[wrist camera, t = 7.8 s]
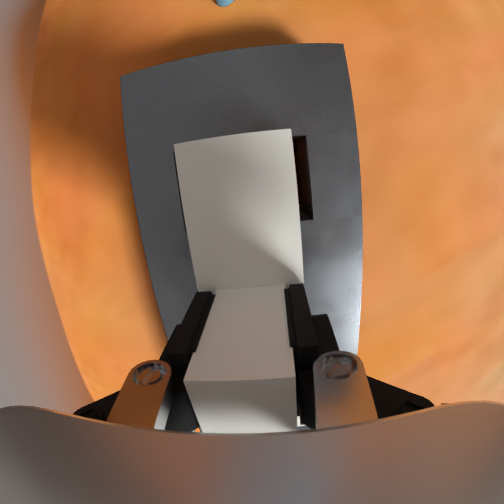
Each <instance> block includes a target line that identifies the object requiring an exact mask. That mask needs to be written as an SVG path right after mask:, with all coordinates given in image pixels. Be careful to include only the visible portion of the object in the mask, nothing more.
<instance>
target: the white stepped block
mask: <svg viewBox="0 0 504 504" xmlns="http://www.w3.org/2000/svg"><path fill="white" fill-rule="evenodd" d="M174 151H175V158H176V166H177V173H178V180H179V187H180V193H181V200H182V206H183V212H184V218H185V224H186V230H187V236H188V242H189V247H190V253H191V258H192V263H193V269H194V274H195V279H196V284H197V289H198V292H203V291H211V292H212V295H213V294H216V296H215V299H214V301H213V304H212V307H211V310H210V313H209V316H208V318H207V321H206V324H205V327H204V330H203V333H202V336H201V338H200V341H199V344H198V347H197V350H196V353H193V355H192V357H191V360H190V363H189V366H188V369H187V372H186V374H185V377H184V380H183V381H184V384H185V387H186V390H187V393H188V395H189V398H190V401H191V404H192V406H193V409H194V412H195V414H196V417H197V419H198V422H199V425H200V427H201V430H202V432H203V433H269V432H286V431H297V426H305V425H300V416H297V403H296V376H295V367H294V357H293V348H292V347H291V348H290V344H289V334H288V324H287V314H286V304H285V295H284V289H287V288H289V285H290V284H300V283H303V284H304V274H303V257H302V242H301V228H300V215H299V202H298V191H297V180H296V170H295V160H294V151H293V142H292V133H291V129H280V130H269V131H259V132H250V133H242V134H234V135H227V136H220V137H213V138H207V139H200V140H195V141H189V142H183V143H178V144H174Z"/></svg>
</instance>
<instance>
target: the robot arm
mask: <svg viewBox="0 0 504 504" xmlns="http://www.w3.org/2000/svg"><path fill="white" fill-rule="evenodd" d="M284 295H285V304H286V314H287V324H288V334H289V344H290V348H291V347H292V348H293V357H294V367H295V376H296V403H297V416H300V425H305V426H307V427H309V428H311V429H310V430H299V431H286V432H269V433H201V432H195V429H197V428H198V427H200V425H199V422H198V419H197V417H196V414H195V412H194V409H193V406H192V404H191V401H190V398H189V395H188V393H187V390H186V387H185V384H184V381H183V380H184V377H185V374H186V372H187V369H188V366H189V363H190V360H191V357H192V355H193V353H196V350H197V347H198V344H199V341H200V338H201V336H202V333H203V330H204V327H205V324H206V321H207V318H208V316H209V313H210V310H211V307H212V304H213V301H214V299H215V296H216V294H213V295H212V292H211V291H203V292H196V294H195V296H194V298H193V300H192V302H191V304H190V306H189V308H188V310H187V312H186V314H185V316H184V318H183V320H182V322H181V324H178V325H176V327H175V328H174V330H173V332H172V334H171V336H170V338H169V341H168V343H167V345H166V347H165V349H164V351H163V353H162V355H161V357H160V359H159V360H148V361H145V362H142V363H140V364H138V365H136V366H135V367H134V368H132V369H131V371H130V372H129V374H128V376H127V378H126V380H125V382H124V384H123V386H122V388H121V390H120V391H118V392H115V393H113V394H111V395H109V396H107V397H104V398H102V399H100V400H98V401H95V402H93V403H91V404H88V405H86V406H84V407H82V408H80V409H78V410H77V411H76V412H75V413H73V414H68V413H63V412H59V411H55V410H50V409H46V408H40V407H35V406H9V407H4V408H0V504H504V404H503V403H501V402H495V401H465V402H457V403H441V405H439V406H434V404H433V403H432V402H431V401H429V400H428V399H426V398H424V397H422V396H419V395H416V394H413V393H411V392H408V391H405V390H403V389H400V388H397V387H395V386H392V385H389V384H387V383H384V382H381V381H379V380H376V379H374V378H371V377H369V376H366V372H365V369H364V365H363V363H362V361H361V359H360V358H359V357H358V356H357V355H355V354H353V353H351V352H346V351H340V350H339V347H338V344H337V341H336V338H335V335H334V332H333V329H332V326H331V323H330V320H329V317H328V315H327V314H319V315H311V312H310V308H309V304H308V300H307V296H306V292H305V288H304V284H303V283H300V284H290V285H289V288H287V289H284Z"/></svg>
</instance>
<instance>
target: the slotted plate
mask: <svg viewBox="0 0 504 504" xmlns="http://www.w3.org/2000/svg"><path fill="white" fill-rule="evenodd" d="M120 82H121V98H122V110H123V121H124V131H125V140H126V148H127V156H128V163H129V170H130V177H131V184H132V190H133V196H134V201H135V207H136V213H137V218H138V223H139V228H140V233H141V238H142V243H143V247H144V252H145V256H146V261H147V265H148V269H149V273H150V277H151V281H152V285H153V289H154V293H155V297H156V301H157V304H158V308H159V312H160V315H161V319H162V322H163V326H164V329H165V332H166V336H167V339H168V341H169V338H170V336H171V334H172V332H173V330H174V328H175V327H176V325H178V324H181V322H182V320H183V318H184V316H185V314H186V312H187V310H188V308H189V306H190V304H191V302H192V300H193V298H194V296H195V294H196V292H198V289H197V284H196V279H195V274H194V269H193V263H192V258H191V253H190V247H189V242H188V236H187V230H186V224H185V218H184V212H183V206H182V200H181V193H180V187H179V180H178V173H177V166H176V158H175V151H174V144H178V143H183V142H189V141H195V140H200V139H207V138H213V137H220V136H227V135H234V134H242V133H250V132H259V131H269V130H280V129H291V133H292V140H297V148H298V158H299V167H300V178H301V189H302V201H303V204H302V205H299V215H300V228H301V242H302V257H303V274H304V288H305V292H306V296H307V300H308V304H309V308H310V312H311V315H319V314H327V315H328V317H329V320H330V323H331V326H332V329H333V332H334V335H335V338H336V341H337V344H338V347H339V350H340V351H346V352H351V353H353V354H355V355H357V350H358V339H359V327H360V312H361V293H362V257H363V232H362V196H361V177H360V163H359V151H358V140H357V130H356V121H355V113H354V105H353V98H352V91H351V85H350V79H349V73H348V67H347V61H346V56H345V51H344V46H343V44H334V43H307V44H283V45H269V46H258V47H249V48H241V49H234V50H227V51H220V52H214V53H209V54H203V55H198V56H193V57H189V58H184V59H180V60H175V61H171V62H167V63H163V64H159V65H156V66H152V67H149V68H145V69H142V70H138V71H135V72H132V73H129V74H126V75H123V76H120ZM199 429H200V432H201V433H203V432H202V430H201V427H199ZM310 429H311V428H309V427H307V426H297V431H299V430H310Z"/></svg>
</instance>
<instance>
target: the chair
mask: <svg viewBox="0 0 504 504" xmlns="http://www.w3.org/2000/svg"><path fill="white" fill-rule="evenodd" d="M233 1H234V0H216V2H217V4H218V5H219V6H222V7H224V6H228V5H229V4H231V3H232V2H233Z"/></svg>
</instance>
